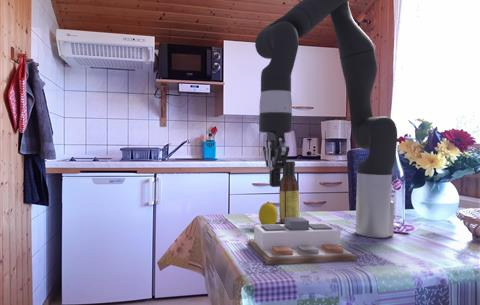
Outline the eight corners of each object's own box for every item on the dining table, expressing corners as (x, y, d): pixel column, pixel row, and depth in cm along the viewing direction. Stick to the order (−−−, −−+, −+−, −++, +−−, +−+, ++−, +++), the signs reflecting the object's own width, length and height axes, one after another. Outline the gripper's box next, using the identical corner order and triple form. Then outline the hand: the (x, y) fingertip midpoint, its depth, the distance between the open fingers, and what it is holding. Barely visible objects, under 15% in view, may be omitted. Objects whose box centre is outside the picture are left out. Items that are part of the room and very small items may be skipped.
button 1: (323, 239, 87) (323, 223, 86) (331, 244, 82) (331, 227, 82) (306, 240, 86) (307, 224, 86) (313, 245, 81) (314, 228, 81)
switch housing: (324, 239, 89) (325, 223, 89) (340, 247, 81) (340, 230, 81) (253, 241, 85) (254, 224, 85) (262, 250, 77) (263, 232, 77)
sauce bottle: (301, 222, 113) (303, 161, 112) (294, 225, 107) (295, 161, 107) (283, 219, 116) (285, 160, 116) (275, 223, 111) (276, 160, 111)
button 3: (278, 241, 84) (279, 224, 84) (284, 246, 80) (285, 228, 80) (260, 241, 83) (261, 225, 83) (266, 246, 79) (266, 229, 79)
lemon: (276, 231, 100) (276, 203, 100) (257, 229, 101) (257, 202, 101) (278, 227, 105) (278, 200, 105) (259, 225, 106) (260, 199, 106)
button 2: (301, 233, 85) (301, 217, 85) (308, 238, 81) (309, 221, 81) (284, 234, 84) (284, 217, 84) (290, 238, 80) (291, 221, 80)
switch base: (323, 240, 91) (324, 231, 91) (356, 260, 75) (356, 249, 75) (248, 243, 87) (249, 233, 87) (267, 264, 71) (267, 253, 71)
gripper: (301, 109, 75) (300, 189, 76) (281, 115, 88) (280, 183, 89) (268, 108, 74) (267, 190, 74) (252, 114, 87) (252, 183, 87)
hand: (274, 186), depth 81 cm, fingers closed
